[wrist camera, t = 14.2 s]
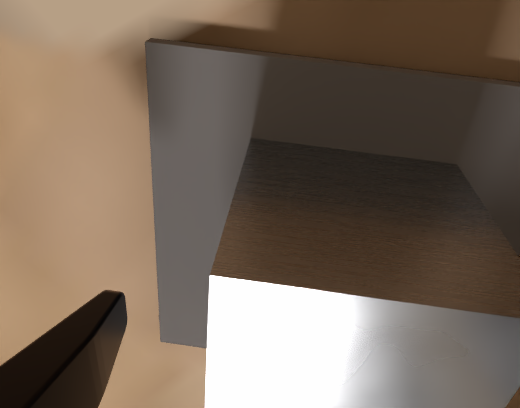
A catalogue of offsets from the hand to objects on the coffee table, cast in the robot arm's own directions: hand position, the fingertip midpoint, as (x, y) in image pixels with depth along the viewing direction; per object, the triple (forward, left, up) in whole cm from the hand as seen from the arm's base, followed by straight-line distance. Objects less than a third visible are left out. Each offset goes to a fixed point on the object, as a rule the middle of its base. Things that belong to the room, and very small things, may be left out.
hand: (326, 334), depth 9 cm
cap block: (0, 0, -3) cm, 3 cm away
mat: (0, 0, -4) cm, 4 cm away
